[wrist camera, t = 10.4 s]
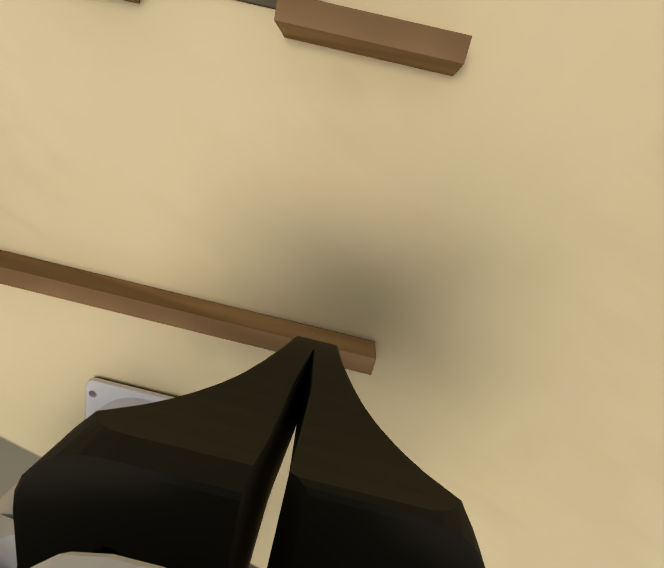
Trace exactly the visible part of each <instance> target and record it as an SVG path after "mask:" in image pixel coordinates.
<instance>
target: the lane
mask: <svg viewBox="0 0 664 568" xmlns="http://www.w3.org/2000/svg"><path fill="white" fill-rule="evenodd" d="M127 1H131V2H135V3H140V0H127ZM238 1H242V2H246V3H251V4H255V5H259V6H264V7H268V8H273V9H276V11H275V18H274V21H275V22H276V24H277V26H278V27H279V29H280V30H281V32H282V34H283V35H284V37H286V38H291V39H295V40H299V41H304V42H308V43H312V44H317V45H321V46H325V47H330V48H334V49H338V50H342V51H347V52H351V53H355V54H360V55H364V56H368V57H373V58H377V59H381V60H386V61H390V62H394V63H399V64H403V65H407V66H412V67H416V68H420V69H425V70H429V71H433V72H438V73H442V74H446V75H450V76H453V75H454V74H455V73H456V72H457V71H458V70H459V69H460V68H461V66H462V65H463V64H464V62H465V59H466V55H467V52H468V49H469V45H470V42H471V38H472V36H470V35H466V34H461V33H457V32H453V31H448V30H444V29H440V28H435V27H431V26H427V25H422V24H418V23H413V22H409V21H405V20H400V19H396V18H392V17H387V16H383V15H379V14H374V13H370V12H365V11H361V10H357V9H352V8H348V7H344V6H339V5H335V4H331V3H326V2H322V1H318V0H238ZM0 284H4V285H8V286H12V287H16V288H20V289H24V290H28V291H32V292H37V293H41V294H45V295H49V296H53V297H57V298H61V299H65V300H69V301H73V302H77V303H81V304H85V305H89V306H93V307H97V308H101V309H106V310H110V311H114V312H118V313H122V314H126V315H130V316H134V317H138V318H142V319H146V320H150V321H154V322H158V323H162V324H166V325H170V326H174V327H179V328H183V329H187V330H191V331H195V332H199V333H203V334H207V335H211V336H215V337H219V338H223V339H227V340H231V341H235V342H239V343H243V344H248V345H252V346H256V347H260V348H264V349H268V350H272V351H276V352H277V351H278V350H280V349H281V348H282V347H284V346H285V345H286V344H287V343H289V342H290V341H291V340H292V339H293V338H295V337H297V336H301V337H305V338H309V339H313V340H317V341H322V342H326V343H330V344H334V345H336V346H337V347H338V349H339V353H340V357H341V360H342V363H343V365H344V368H345V369H349V370H353V371H357V372H361V373H365V374H369V375H371V374H372V370H373V367H374V364H375V360H376V351H375V342H373V341H369V340H365V339H361V338H357V337H353V336H349V335H345V334H341V333H337V332H332V331H328V330H324V329H320V328H316V327H312V326H308V325H304V324H300V323H296V322H292V321H288V320H283V319H279V318H275V317H271V316H267V315H263V314H259V313H255V312H251V311H247V310H243V309H239V308H234V307H230V306H226V305H222V304H218V303H214V302H210V301H206V300H202V299H198V298H194V297H190V296H185V295H181V294H177V293H173V292H169V291H165V290H161V289H157V288H153V287H149V286H145V285H141V284H136V283H132V282H128V281H124V280H120V279H116V278H112V277H108V276H104V275H100V274H96V273H92V272H87V271H83V270H79V269H75V268H71V267H67V266H63V265H59V264H55V263H51V262H47V261H42V260H38V259H34V258H30V257H26V256H22V255H18V254H14V253H10V252H6V251H2V250H0Z"/></svg>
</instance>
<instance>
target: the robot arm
mask: <svg viewBox="0 0 664 568" xmlns="http://www.w3.org/2000/svg"><path fill="white" fill-rule="evenodd" d="M94 391H95V392H96V393H95V392H94ZM296 425H297V426H296ZM295 427H296V432H295V439H294V446H293V452H292V459H291V465H290V472H289V476H288V481H287V485H286V489H285V494H284V498H283V502H282V506H281V511H280V515H279V519H278V524H277V528H276V532H275V537H274V541H273V545H272V549H271V554H270V558H269V562H268V567H267V568H485V566H484V562H483V559H482V556H481V552H480V549H479V546H478V542H477V540H476V537H475V534H474V531H473V528H472V526H471V523H470V521H469V518H468V516H467V514H466V511H465V509H464V506H463V503H462V501H461V500H460V499H458V498H457V497H456V496H454V495H453V494H452V493H451V492H449V491H448V490H447V489H445V488H444V487H443V486H441V485H440V484H439V483H437V482H436V481H435V480H434V479H432V478H431V477H430V476H428V475H427V474H426V473H425V472H423V471H422V470H421V469H420V468H419V467H418V466H417V465H416V464H415V463H413V462H412V461H411V460H410V459H409V458H408V457H407V456H406V455H405V454H404V453H403V452H402V451H401V450H400V449H399V448H398V447H397V446H396V445H395V444H394V443H393V442H392V441H391V440H390V439H389V438H388V437H387V435H386V434H385V433H384V432H383V431H382V430H381V429H380V427H379V426H378V425H377V424H376V422H375V421H374V420H373V418H372V417H371V416H370V414H369V413H368V412H367V410H366V409H365V407H364V406H363V404H362V402H361V401H360V399H359V397H358V395H357V393H356V392H355V390H354V388H353V386H352V384H351V382H350V379H349V377H348V375H347V373H346V370H345V368H344V365H343V363H342V360H341V357H340V353H339V349H338V347H337V346H336V345H334V344H330V343H326V342H322V341H317V340H313V339H309V338H305V337H301V336H297V337H295V338H293V339H292V340H291V341H290V342H289V343H287V344H286V345H285V346H284V347H282V348H281V349H280V350H278V351H277V352H276V353H274V354H273V355H271V356H270V357H268V358H267V359H266V360H264V361H263V362H261V363H259V364H258V365H256V366H254V367H253V368H251V369H249V370H248V371H246V372H244V373H242V374H240V375H238V376H236V377H234V378H232V379H229V380H227V381H225V382H222V383H220V384H217V385H214V386H211V387H208V388H205V389H202V390H200V391H197V392H194V393H190V394H187V395H183V396H179V397H171V396H167V395H163V394H159V393H155V392H151V391H147V390H143V389H139V388H135V387H131V386H127V385H123V384H119V383H115V382H111V381H107V380H103V379H99V378H92V379H90V380H89V381H88V382H87V383H86V419H85V420H84V421H83V422H82V423H80V424H79V425H78V426H76V427H75V428H74V429H73V430H72V431H71V432H70V433H69V434H67V435H66V436H65V437H64V438H63V439H62V440H61V441H60V442H59V443H57V444H56V445H55V446H54V447H53V448H52V449H51V450H50V451H48V452H47V453H46V454H45V455H44V456H43V457H42V458H41V459H40V460H38V461H37V462H36V463H35V464H34V465H33V466H32V467H31V468H29V469H28V470H27V471H26V472H25V473H24V474H23V475H22V476H21V478H20V480H19V482H18V483H16V484H15V485H14V486H13V487H12V488H11V489H10V490H9V491H7V492H6V493H5V494H4V495H3V496H2V497H1V498H0V568H249V564H250V561H251V557H252V554H253V550H254V547H255V543H256V539H257V536H258V532H259V529H260V525H261V522H262V518H263V515H264V511H265V508H266V504H267V501H268V498H269V495H270V493H271V490H272V487H273V484H274V482H275V479H276V476H277V474H278V471H279V469H280V466H281V464H282V461H283V458H284V456H285V453H286V451H287V448H288V446H289V443H290V440H291V438H292V435H293V432H294V430H295Z"/></svg>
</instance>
